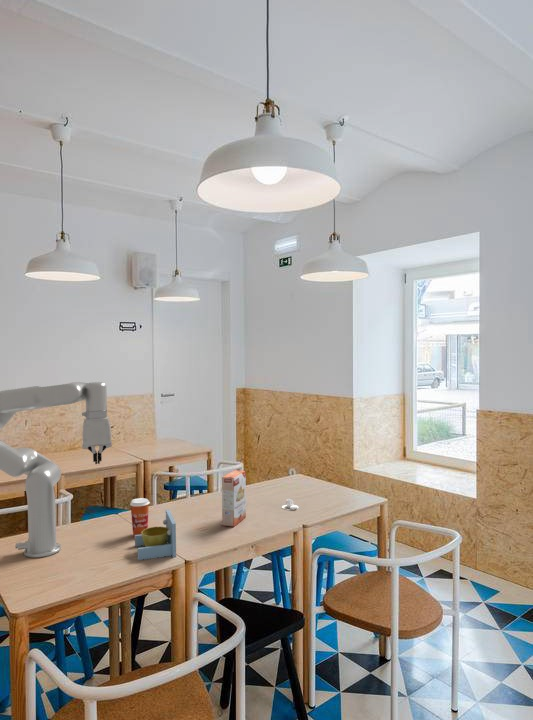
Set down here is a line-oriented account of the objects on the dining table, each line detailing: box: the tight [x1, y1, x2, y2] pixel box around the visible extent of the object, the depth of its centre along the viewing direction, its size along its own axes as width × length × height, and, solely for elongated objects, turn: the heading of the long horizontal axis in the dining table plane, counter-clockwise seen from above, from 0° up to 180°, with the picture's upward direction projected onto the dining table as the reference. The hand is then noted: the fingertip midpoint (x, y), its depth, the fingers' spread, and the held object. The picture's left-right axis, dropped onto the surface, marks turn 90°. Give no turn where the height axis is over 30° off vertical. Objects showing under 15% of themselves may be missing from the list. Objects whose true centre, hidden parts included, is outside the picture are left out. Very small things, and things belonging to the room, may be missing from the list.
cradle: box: [134, 508, 177, 561], centre depth 190 cm, size 13×18×12 cm
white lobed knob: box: [281, 498, 299, 511], centre depth 241 cm, size 9×8×4 cm
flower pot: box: [142, 526, 169, 547], centre depth 190 cm, size 10×10×7 cm
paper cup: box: [129, 497, 151, 538], centre depth 207 cm, size 8×8×14 cm
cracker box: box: [221, 469, 247, 527], centre depth 222 cm, size 14×6×21 cm, turn 161°
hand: (97, 463), depth 193 cm, fingers closed
